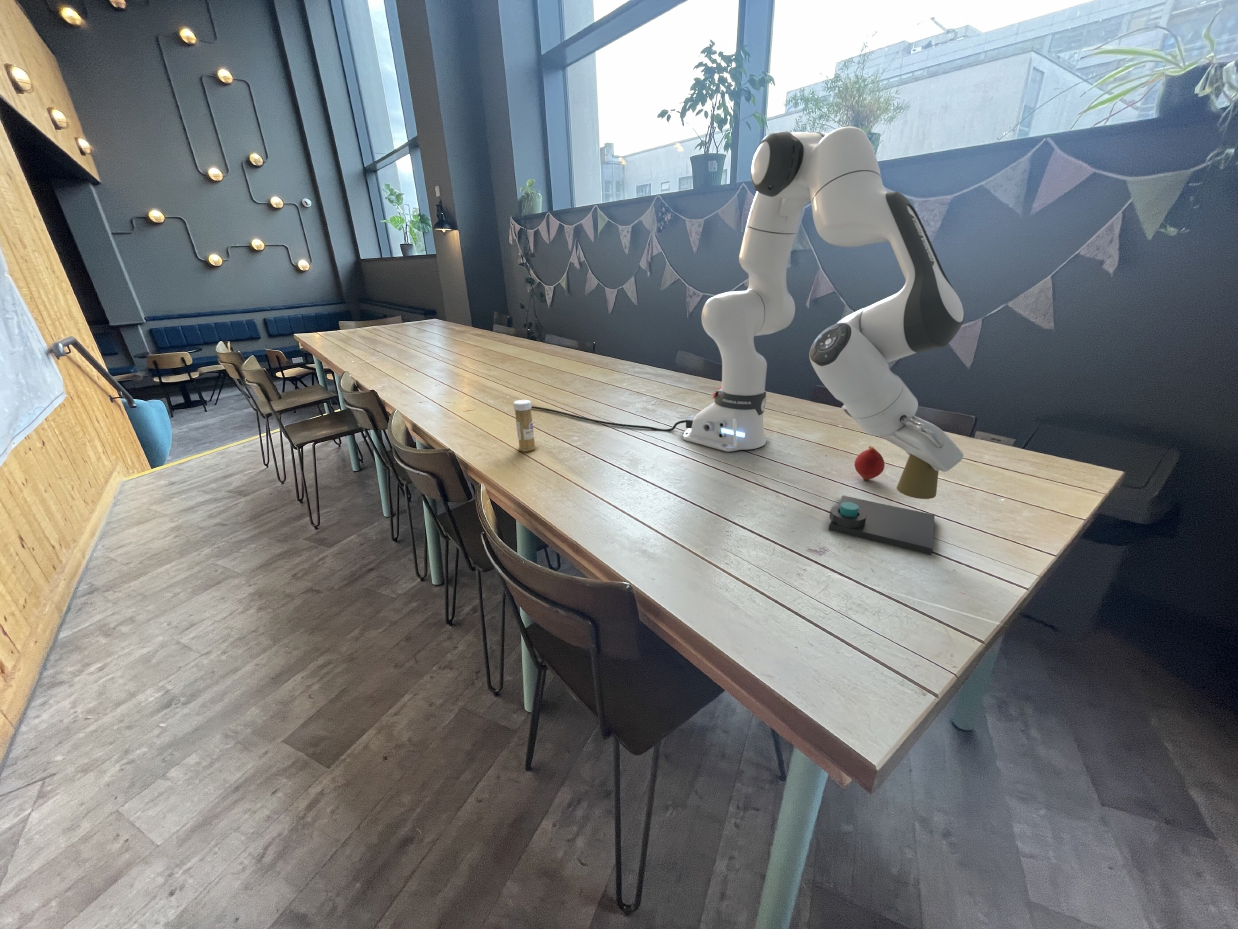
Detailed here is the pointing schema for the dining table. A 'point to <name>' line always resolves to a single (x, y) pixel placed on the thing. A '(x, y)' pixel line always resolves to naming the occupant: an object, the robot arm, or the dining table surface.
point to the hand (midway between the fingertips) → (927, 460)
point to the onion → (869, 463)
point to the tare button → (849, 509)
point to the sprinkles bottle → (524, 425)
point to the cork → (918, 479)
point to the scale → (886, 525)
